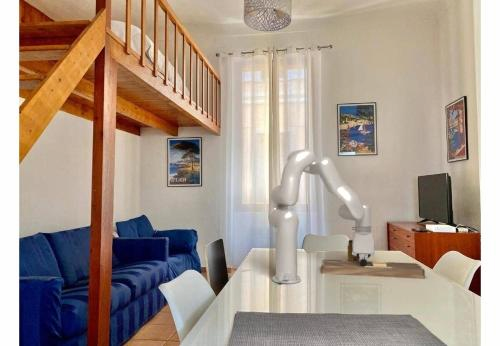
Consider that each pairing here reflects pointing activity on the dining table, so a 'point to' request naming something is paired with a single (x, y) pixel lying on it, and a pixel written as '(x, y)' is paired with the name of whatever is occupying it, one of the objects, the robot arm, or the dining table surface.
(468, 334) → the dining table surface
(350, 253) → the condiment
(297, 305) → the dining table surface
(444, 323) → the dining table surface
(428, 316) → the dining table surface
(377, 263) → the block
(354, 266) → the box
